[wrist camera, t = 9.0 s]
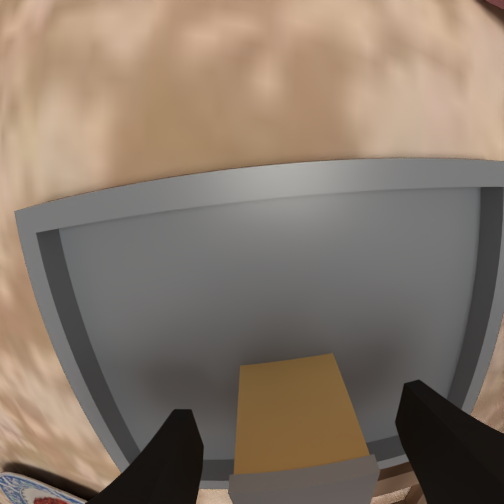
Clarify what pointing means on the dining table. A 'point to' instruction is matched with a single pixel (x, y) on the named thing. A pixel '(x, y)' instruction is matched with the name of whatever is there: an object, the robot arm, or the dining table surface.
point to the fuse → (299, 437)
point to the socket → (400, 483)
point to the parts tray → (270, 291)
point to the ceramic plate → (33, 491)
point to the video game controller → (497, 3)
